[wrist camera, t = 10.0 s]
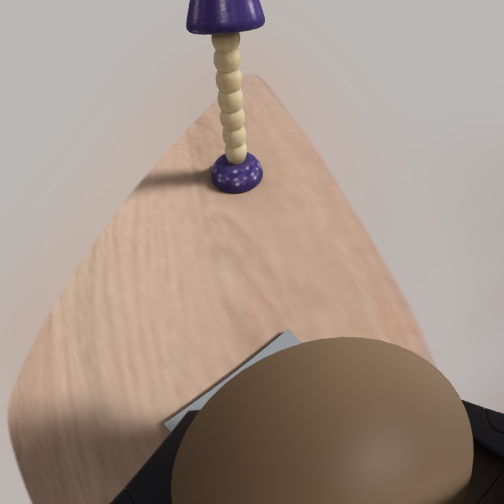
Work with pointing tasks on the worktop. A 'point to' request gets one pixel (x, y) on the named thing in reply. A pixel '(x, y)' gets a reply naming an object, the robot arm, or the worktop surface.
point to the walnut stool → (329, 431)
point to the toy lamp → (229, 84)
